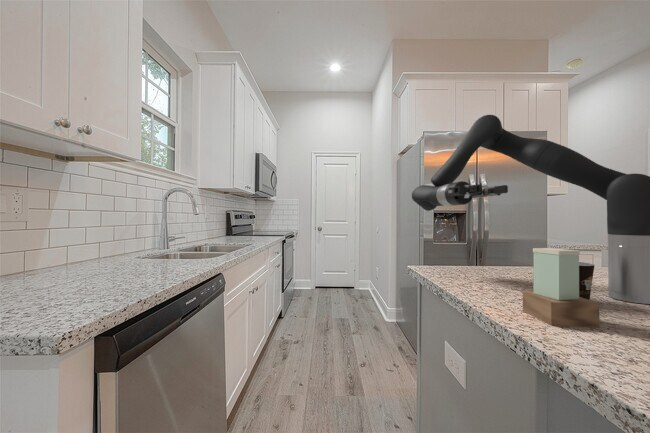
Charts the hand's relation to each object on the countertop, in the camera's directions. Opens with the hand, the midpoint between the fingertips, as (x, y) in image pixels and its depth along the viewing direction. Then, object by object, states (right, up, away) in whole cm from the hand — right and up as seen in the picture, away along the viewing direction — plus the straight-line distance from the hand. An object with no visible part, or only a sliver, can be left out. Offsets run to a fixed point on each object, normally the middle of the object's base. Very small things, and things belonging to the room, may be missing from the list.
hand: (494, 188), depth 76 cm
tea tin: (+3, -25, -16) cm, 30 cm away
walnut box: (+4, -30, -16) cm, 34 cm away
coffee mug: (+16, -30, -4) cm, 34 cm away
